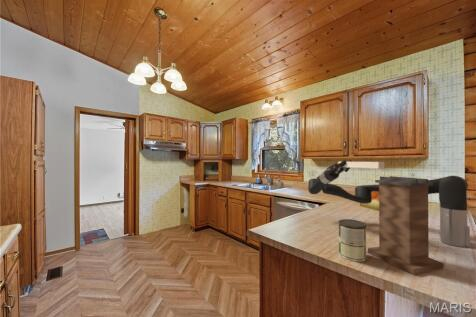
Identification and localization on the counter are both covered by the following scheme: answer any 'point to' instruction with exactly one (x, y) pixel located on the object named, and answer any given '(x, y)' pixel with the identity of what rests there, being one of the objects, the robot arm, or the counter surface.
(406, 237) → the stand
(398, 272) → the counter surface
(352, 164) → the slat
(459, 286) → the counter surface
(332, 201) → the counter surface
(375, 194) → the bread
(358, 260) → the coffee can
